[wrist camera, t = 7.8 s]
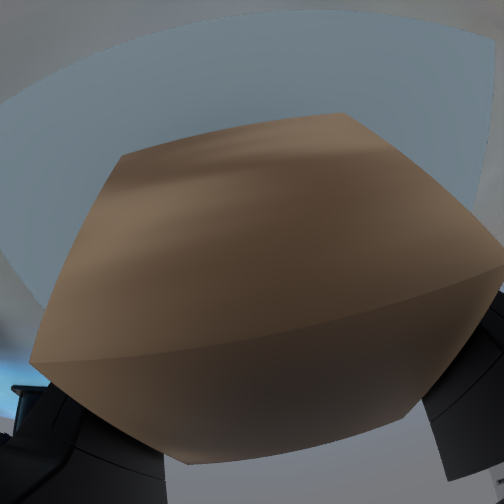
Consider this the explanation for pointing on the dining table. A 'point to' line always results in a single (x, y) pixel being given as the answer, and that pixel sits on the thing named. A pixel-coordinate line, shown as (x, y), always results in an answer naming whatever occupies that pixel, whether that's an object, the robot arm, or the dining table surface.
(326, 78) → the slate board
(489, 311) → the robot arm
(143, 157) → the walnut cube
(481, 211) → the dining table surface
